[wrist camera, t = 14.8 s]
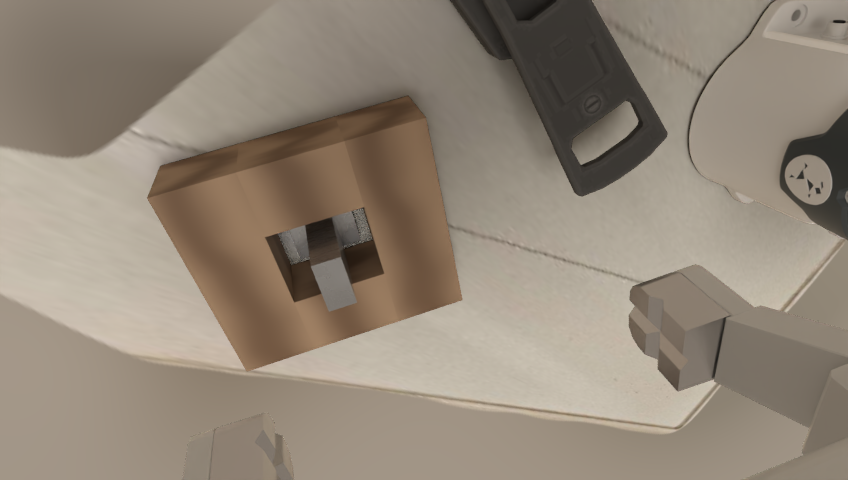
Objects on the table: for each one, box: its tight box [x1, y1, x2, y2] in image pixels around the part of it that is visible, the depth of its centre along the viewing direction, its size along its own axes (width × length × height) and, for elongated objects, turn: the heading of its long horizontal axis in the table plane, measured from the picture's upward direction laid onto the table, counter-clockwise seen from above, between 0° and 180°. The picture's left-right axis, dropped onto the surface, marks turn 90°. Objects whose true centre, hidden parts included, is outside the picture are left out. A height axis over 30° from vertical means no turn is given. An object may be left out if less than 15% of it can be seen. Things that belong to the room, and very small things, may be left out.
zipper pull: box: [450, 0, 667, 196], centre depth 34 cm, size 9×7×25 cm
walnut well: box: [147, 96, 462, 371], centre depth 39 cm, size 18×16×5 cm
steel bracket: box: [289, 211, 361, 312], centre depth 38 cm, size 5×4×8 cm
